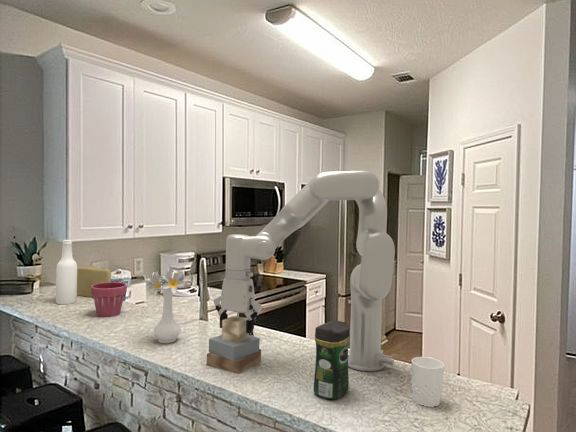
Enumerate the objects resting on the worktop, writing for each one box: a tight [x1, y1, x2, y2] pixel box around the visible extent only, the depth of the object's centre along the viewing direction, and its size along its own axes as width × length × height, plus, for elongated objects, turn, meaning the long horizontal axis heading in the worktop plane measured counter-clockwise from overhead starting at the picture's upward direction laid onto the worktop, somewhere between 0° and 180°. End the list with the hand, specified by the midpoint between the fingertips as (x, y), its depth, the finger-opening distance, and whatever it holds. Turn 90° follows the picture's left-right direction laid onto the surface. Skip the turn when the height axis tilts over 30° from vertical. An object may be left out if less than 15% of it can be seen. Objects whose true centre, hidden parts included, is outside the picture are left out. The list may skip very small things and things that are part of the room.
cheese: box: [77, 265, 112, 299], centre depth 209 cm, size 22×10×15 cm, turn 56°
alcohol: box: [55, 239, 78, 306], centre depth 195 cm, size 9×9×30 cm
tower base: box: [206, 348, 262, 374], centre depth 127 cm, size 12×12×4 cm
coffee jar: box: [313, 319, 350, 400], centre depth 108 cm, size 10×8×19 cm
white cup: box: [411, 356, 445, 407], centre depth 105 cm, size 8×8×10 cm
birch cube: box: [221, 315, 249, 343], centre depth 126 cm, size 6×6×6 cm
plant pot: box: [91, 281, 128, 318], centre depth 177 cm, size 14×14×13 cm
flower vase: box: [144, 270, 190, 344], centre depth 145 cm, size 13×18×25 cm
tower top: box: [208, 334, 261, 361], centre depth 127 cm, size 11×11×4 cm
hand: (236, 329), depth 127 cm, fingers open, 9 cm apart
